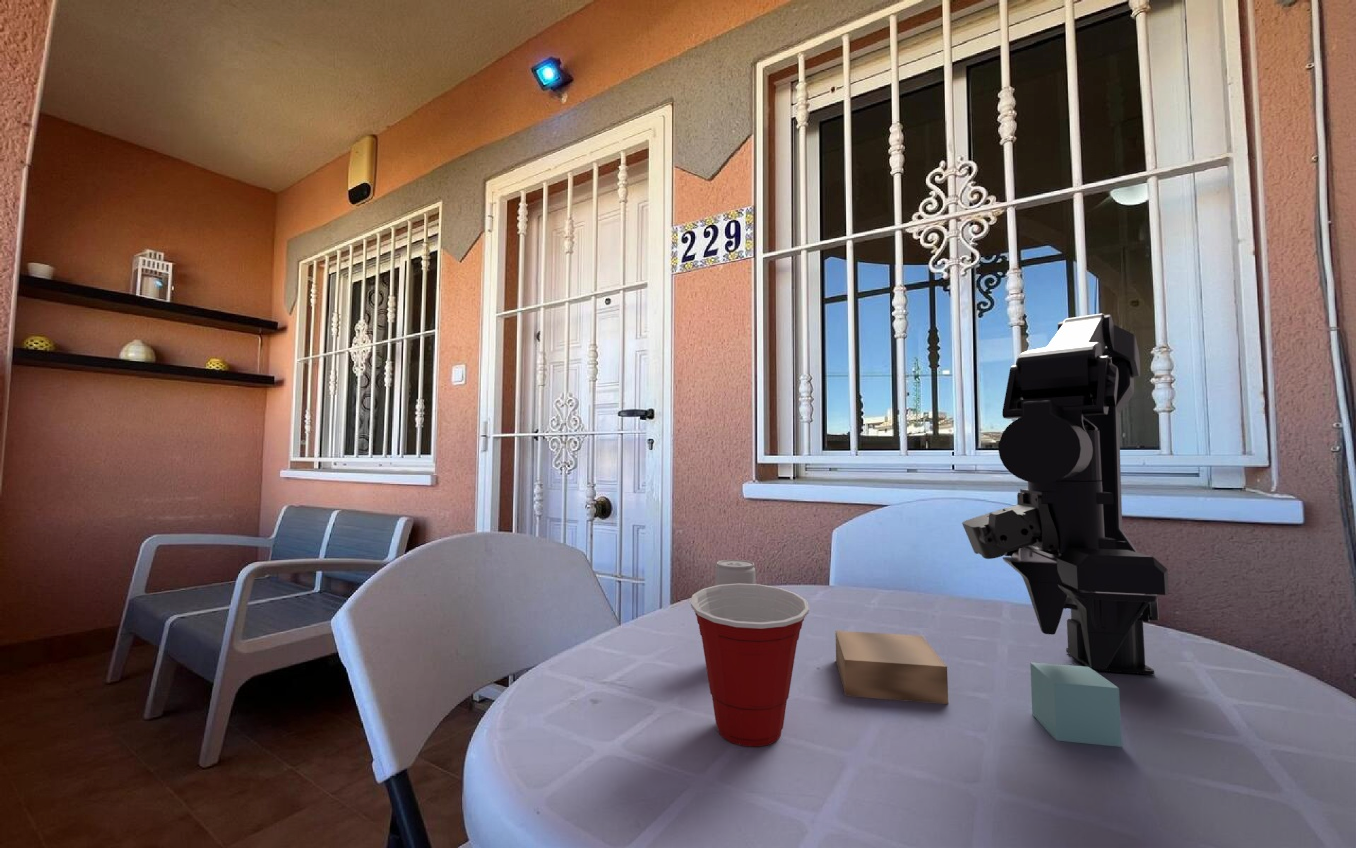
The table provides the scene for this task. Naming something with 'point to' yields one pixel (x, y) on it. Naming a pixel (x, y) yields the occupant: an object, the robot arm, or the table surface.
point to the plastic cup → (749, 656)
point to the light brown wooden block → (890, 667)
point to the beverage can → (735, 572)
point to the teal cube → (1076, 704)
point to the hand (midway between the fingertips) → (1071, 649)
